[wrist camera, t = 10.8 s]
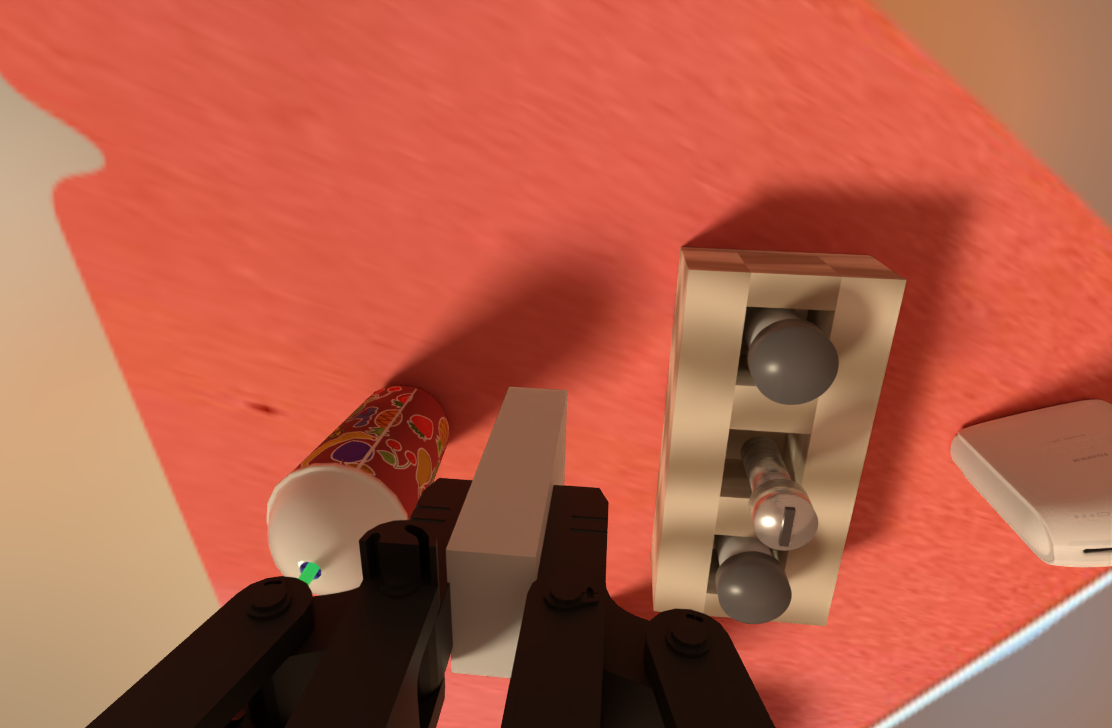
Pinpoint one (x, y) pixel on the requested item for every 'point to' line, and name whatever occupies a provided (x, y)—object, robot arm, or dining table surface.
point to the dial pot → (776, 498)
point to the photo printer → (1047, 478)
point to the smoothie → (355, 487)
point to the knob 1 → (788, 355)
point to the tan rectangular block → (765, 416)
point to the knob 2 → (750, 580)
